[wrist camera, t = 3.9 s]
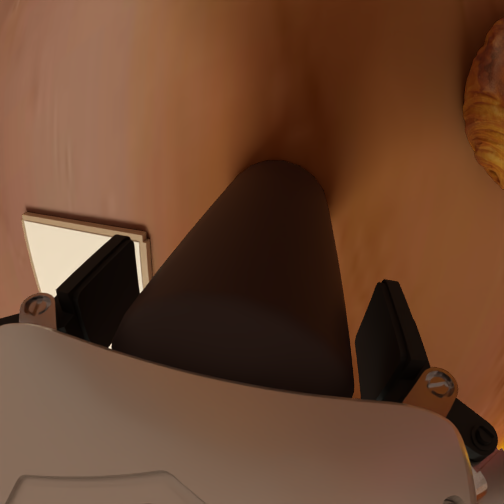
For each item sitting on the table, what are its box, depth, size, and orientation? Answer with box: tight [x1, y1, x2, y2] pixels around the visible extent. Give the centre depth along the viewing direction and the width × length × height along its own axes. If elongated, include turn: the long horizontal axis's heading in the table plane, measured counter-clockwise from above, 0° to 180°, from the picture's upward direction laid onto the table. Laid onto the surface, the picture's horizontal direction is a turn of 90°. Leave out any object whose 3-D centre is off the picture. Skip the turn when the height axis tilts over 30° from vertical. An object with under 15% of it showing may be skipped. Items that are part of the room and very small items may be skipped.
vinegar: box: [111, 160, 354, 398], centre depth 12 cm, size 7×7×20 cm
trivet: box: [21, 212, 152, 349], centre depth 27 cm, size 15×15×1 cm
